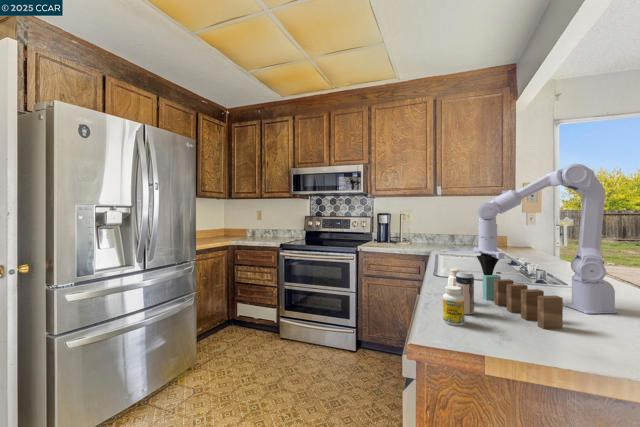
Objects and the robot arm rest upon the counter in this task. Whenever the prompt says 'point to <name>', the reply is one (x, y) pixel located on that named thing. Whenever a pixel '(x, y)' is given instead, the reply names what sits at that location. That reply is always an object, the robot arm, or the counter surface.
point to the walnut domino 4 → (550, 312)
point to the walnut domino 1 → (501, 291)
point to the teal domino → (489, 286)
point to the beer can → (466, 290)
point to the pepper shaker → (452, 277)
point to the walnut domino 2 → (514, 297)
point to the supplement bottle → (453, 306)
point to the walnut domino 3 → (530, 303)
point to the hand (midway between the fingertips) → (487, 276)
